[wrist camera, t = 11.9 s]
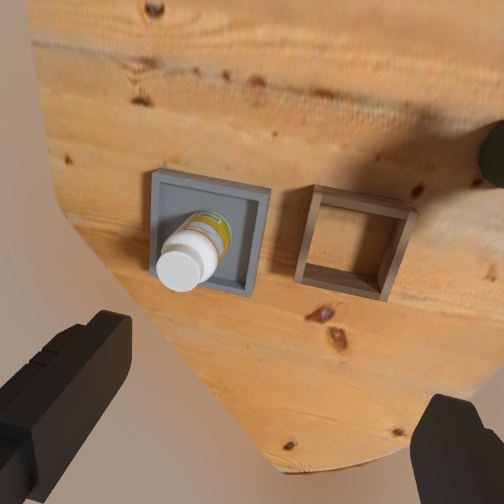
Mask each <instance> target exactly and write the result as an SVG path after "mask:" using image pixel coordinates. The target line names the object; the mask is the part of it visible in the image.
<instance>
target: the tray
mask: <svg viewBox="0 0 504 504" xmlns="http://www.w3.org/2000/svg"><path fill="white" fill-rule="evenodd" d="M270 194H271V189H269V188H264V187H259V186H253V185H248V184H243V183H238V182H233V181H228V180H222V179H217V178H212V177H207V176H202V175H196V174H191V173H186V172H181V171H176V170H170V169H165V168H160V169H158V170H156V171H154V172H152V189H151V221H150V253H149V276H154V277H158V275H157V271H156V265H157V261H158V259H159V258H160V257H161V250H162V247H163V244H164V242H165V241H166V240H167V239H168V237H169V236H170V235H171V234H172V233H173V232H174V231H175V230H176V229H177V228H179V227H180V226H181V225H182V224H183V223H184V222H185V221H186V220H187V219H188V218H189V217H190V216H191V215H192V214H194V213H196V212H198V211H202V210H209V211H213V212H216V213H218V214H219V215H221V216H222V217H223V218H224V219H225V220H226V221H227V222H228V224H229V226H230V229H231V235H232V237H231V242H230V245H229V247H228V249H227V251H226V252H225V254H224V256H223V258H222V259H221V261H220V263H219V265H218V266H217V268H216V270H215V271H214V273H213V274H212V276H211V277H210V278H209V279H207V280H206V281H204V282H202V283H199V284H197V285H196V286H199V287H204V288H208V289H213V290H217V291H222V292H226V293H231V294H235V295H240V296H244V297H249V298H251V295H252V292H253V289H254V285H255V279H256V274H257V268H258V262H259V257H260V251H261V245H262V240H263V234H264V228H265V222H266V217H267V211H268V205H269V200H270ZM158 278H159V277H158Z"/></svg>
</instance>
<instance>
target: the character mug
mask: <svg viewBox="0 0 504 504" xmlns="http://www.w3.org/2000/svg"><path fill="white" fill-rule="evenodd" d="M478 163H479V166H480V169H481V171H482V174H483V177H485V178H486V179H487V180H488V181H490V182H491V183H492V184H493V185H495V186H496V187H500V188H503V189H504V124H503V125H501V126H500V127H498V128H497V129H495V130H494V131H492V132H491V134H490V135H489V136H488V138H487V139H486V141H485V142H484V143H483V145H482V146H481V150H480V156H479V161H478Z"/></svg>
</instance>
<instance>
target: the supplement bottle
mask: <svg viewBox="0 0 504 504" xmlns="http://www.w3.org/2000/svg"><path fill="white" fill-rule="evenodd" d="M231 237H232V235H231V229H230V226H229V224H228V222H227V221H226V220H225V219H224V218H223V217H222V216H221V215H219V214H218V213H216V212H213V211H209V210H202V211H198V212H196V213H194V214H192V215H191V216H190V217H189V218H188V219H187V220H186V221H185V222H184V223H183V224H182V225H181V226H180V227H179V228H177V229H176V230H175V231H174V232H173V233H172V234H171V235H170V236H169V237H168V239H167V240H166V241H165V242H164V244H163V247H162V250H161V257H160V258H159V259H158V261H157V265H156V271H157V275H158V277H159V279H160V281H161V282H162V283H163V284H164V285H165V286H166V287H168V288H169V289H171V290H174V291H178V292H185V291H189V290H191V289H193V288H194V287H195V286H196V285H197V284H199V283H202V282H204V281H206V280H207V279H209V278H210V277H211V276H212V274H213V273H214V271H215V270H216V268H217V266H218V265H219V263H220V261H221V259H222V258H223V256H224V254H225V252H226V251H227V249H228V247H229V245H230V242H231Z"/></svg>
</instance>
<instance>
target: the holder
mask: <svg viewBox="0 0 504 504" xmlns="http://www.w3.org/2000/svg"><path fill="white" fill-rule="evenodd" d="M320 203H323V204H328V205H333V206H338V207H343V208H349V209H354V210H359V211H364V212H369V213H374V214H379V215H385V216H390V217H395V218H396V221H395V224H394V227H393V230H392V233H391V236H390V239H389V242H388V244H387V247H386V250H385V253H384V256H383V259H382V262H381V265H380V268H379V271H378V274H377V277H376V278H375V277H370V276H366V275H361V274H356V273H351V272H347V271H342V270H337V269H332V268H327V267H323V266H318V265H313V264H308V263H306V261H307V257H308V252H309V248H310V244H311V240H312V236H313V231H314V227H315V223H316V219H317V215H318V210H319V206H320ZM418 215H419V213H418V211H417V210H416V209H415V208H414V206H413V205H412V204H411V203H410V202H405V201H400V200H394V199H389V198H384V197H378V196H373V195H368V194H363V193H357V192H352V191H347V190H341V189H336V188H331V187H326V186H320V185H315V184H314V188H313V192H312V196H311V201H310V205H309V210H308V214H307V218H306V223H305V227H304V232H303V236H302V241H301V245H300V249H299V254H298V258H297V263H296V267H295V274H294V281H293V282H295V283H300V284H304V285H309V286H314V287H318V288H323V289H328V290H332V291H337V292H341V293H346V294H351V295H355V296H360V297H365V298H369V299H374V300H379V301H383V302H387V300H388V297H389V294H390V292H391V289H392V286H393V283H394V281H395V278H396V275H397V273H398V270H399V267H400V264H401V262H402V259H403V256H404V253H405V251H406V248H407V245H408V242H409V240H410V237H411V234H412V231H413V229H414V226H415V223H416V220H417V218H418Z"/></svg>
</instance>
